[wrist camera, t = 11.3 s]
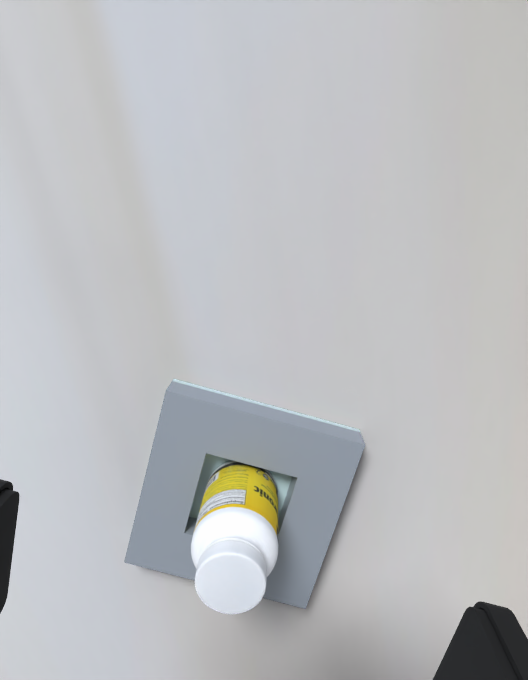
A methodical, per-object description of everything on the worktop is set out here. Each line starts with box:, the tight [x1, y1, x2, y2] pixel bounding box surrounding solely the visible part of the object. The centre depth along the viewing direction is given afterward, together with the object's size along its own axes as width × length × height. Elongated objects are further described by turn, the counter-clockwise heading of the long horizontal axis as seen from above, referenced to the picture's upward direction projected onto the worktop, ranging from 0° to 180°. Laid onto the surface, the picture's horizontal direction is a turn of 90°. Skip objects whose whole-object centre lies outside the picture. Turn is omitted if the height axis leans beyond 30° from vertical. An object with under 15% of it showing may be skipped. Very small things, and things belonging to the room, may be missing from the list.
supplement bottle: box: [191, 461, 279, 614], centre depth 31 cm, size 5×5×10 cm
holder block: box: [124, 379, 365, 609], centre depth 35 cm, size 14×14×2 cm
